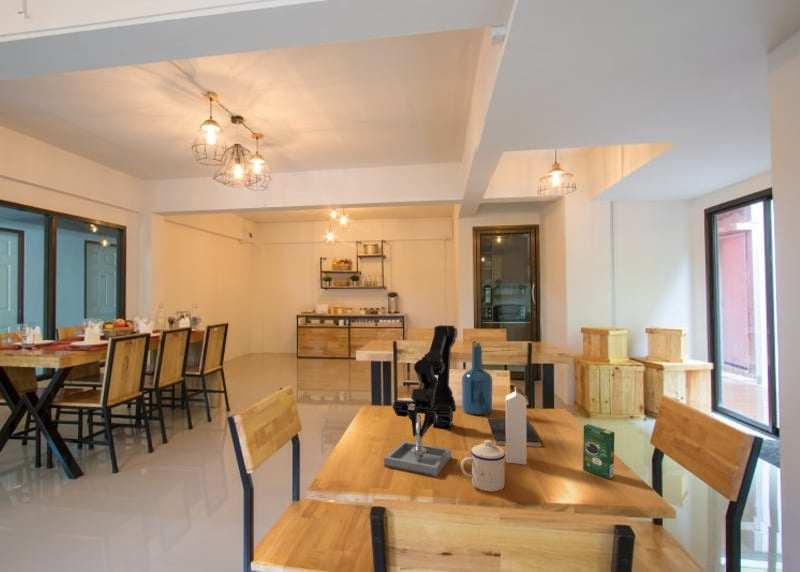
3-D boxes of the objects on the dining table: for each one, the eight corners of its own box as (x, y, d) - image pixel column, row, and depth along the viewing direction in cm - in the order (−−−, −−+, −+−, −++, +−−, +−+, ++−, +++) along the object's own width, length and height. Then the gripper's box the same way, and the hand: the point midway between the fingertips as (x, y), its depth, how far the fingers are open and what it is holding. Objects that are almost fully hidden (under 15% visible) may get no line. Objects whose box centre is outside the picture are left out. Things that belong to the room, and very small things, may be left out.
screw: (423, 461, 117) (408, 458, 119) (428, 455, 121) (414, 452, 123) (423, 417, 117) (408, 415, 119) (428, 413, 121) (414, 411, 123)
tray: (451, 457, 123) (451, 449, 123) (436, 477, 110) (436, 468, 110) (403, 448, 130) (403, 441, 130) (384, 466, 116) (384, 457, 116)
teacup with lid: (498, 475, 111) (498, 434, 111) (510, 492, 102) (510, 447, 102) (457, 477, 110) (457, 435, 110) (465, 494, 101) (465, 448, 101)
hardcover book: (494, 446, 134) (494, 439, 134) (487, 423, 156) (487, 418, 156) (542, 448, 132) (542, 441, 132) (528, 425, 154) (528, 419, 154)
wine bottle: (461, 406, 178) (461, 340, 179) (490, 407, 177) (490, 341, 178) (462, 415, 165) (462, 344, 165) (494, 417, 163) (494, 345, 164)
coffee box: (615, 478, 110) (615, 431, 110) (610, 480, 108) (610, 433, 108) (587, 467, 116) (587, 423, 116) (582, 470, 115) (582, 425, 115)
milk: (506, 462, 119) (505, 390, 120) (505, 454, 125) (505, 385, 125) (527, 464, 118) (526, 391, 118) (525, 456, 124) (524, 386, 124)
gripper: (394, 375, 127) (382, 420, 116) (451, 379, 121) (443, 427, 110) (402, 393, 134) (391, 437, 124) (456, 398, 128) (449, 445, 118)
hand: (417, 436), depth 119 cm, fingers closed on screw, 2 cm apart
